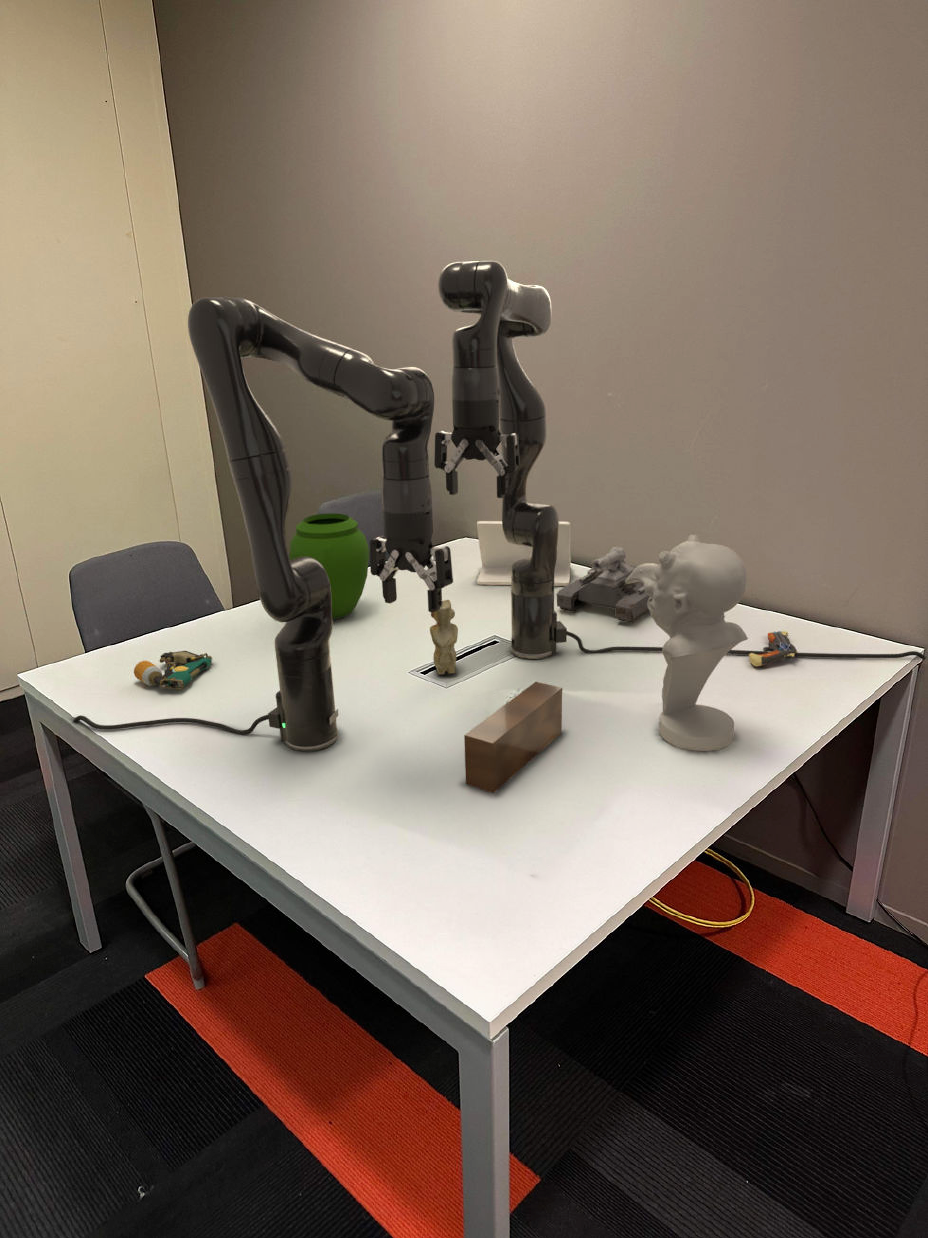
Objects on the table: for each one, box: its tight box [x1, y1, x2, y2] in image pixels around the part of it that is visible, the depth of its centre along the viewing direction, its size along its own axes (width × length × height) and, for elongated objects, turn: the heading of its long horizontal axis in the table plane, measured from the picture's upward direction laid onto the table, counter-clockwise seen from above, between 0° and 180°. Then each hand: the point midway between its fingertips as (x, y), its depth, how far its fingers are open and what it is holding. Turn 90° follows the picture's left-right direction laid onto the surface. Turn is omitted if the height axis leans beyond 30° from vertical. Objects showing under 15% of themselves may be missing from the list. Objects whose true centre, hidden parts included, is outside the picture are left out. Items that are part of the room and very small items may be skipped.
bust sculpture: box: [625, 534, 749, 752], centre depth 149 cm, size 16×24×35 cm
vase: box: [288, 512, 370, 620], centre depth 209 cm, size 20×20×24 cm
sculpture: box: [429, 599, 459, 675], centre depth 177 cm, size 6×7×15 cm
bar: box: [463, 681, 563, 794], centre depth 144 cm, size 23×5×9 cm, turn 146°
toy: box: [556, 546, 650, 624], centre depth 212 cm, size 25×20×15 cm
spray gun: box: [133, 650, 213, 690], centre depth 180 cm, size 4×17×15 cm
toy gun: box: [748, 630, 799, 667], centre depth 183 cm, size 3×19×10 cm
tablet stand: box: [476, 520, 572, 587], centre depth 236 cm, size 18×25×17 cm
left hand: (412, 606), depth 135 cm, fingers open, 8 cm apart
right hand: (477, 495), depth 143 cm, fingers open, 8 cm apart
